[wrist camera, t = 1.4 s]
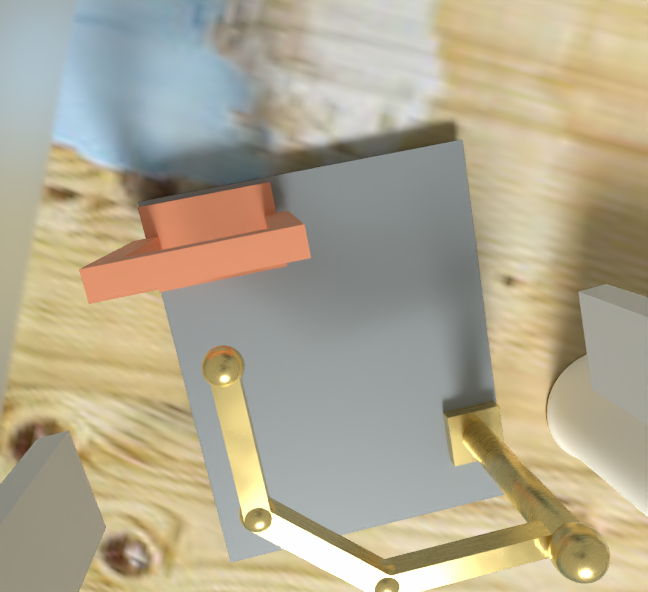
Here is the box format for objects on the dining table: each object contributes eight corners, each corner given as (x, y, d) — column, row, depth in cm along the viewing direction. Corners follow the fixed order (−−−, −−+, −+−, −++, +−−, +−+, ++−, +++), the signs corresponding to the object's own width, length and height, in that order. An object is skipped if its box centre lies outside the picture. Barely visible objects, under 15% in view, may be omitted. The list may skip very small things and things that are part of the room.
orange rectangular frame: (130, 208, 33) (66, 223, 22) (280, 179, 34) (296, 179, 22) (152, 290, 35) (101, 346, 23) (296, 260, 35) (319, 300, 24)
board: (141, 201, 35) (137, 202, 33) (455, 140, 36) (462, 139, 35) (231, 551, 40) (230, 562, 39) (500, 484, 42) (507, 493, 40)
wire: (214, 295, 35) (190, 372, 21) (472, 241, 36) (612, 280, 22) (264, 504, 38) (271, 693, 24) (499, 447, 40) (636, 595, 26)
